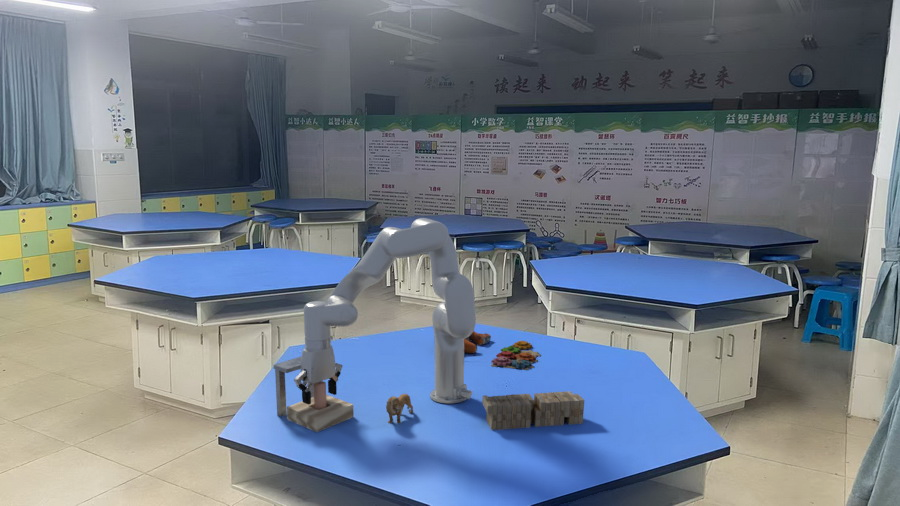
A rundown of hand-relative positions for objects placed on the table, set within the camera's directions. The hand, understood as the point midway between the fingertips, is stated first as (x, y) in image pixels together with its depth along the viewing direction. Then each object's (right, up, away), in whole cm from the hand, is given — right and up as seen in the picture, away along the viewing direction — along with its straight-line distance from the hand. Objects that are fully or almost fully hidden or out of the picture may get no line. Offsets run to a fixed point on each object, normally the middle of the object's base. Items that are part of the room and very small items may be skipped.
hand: (319, 398), depth 194 cm
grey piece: (-7, -5, +7) cm, 11 cm away
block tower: (+64, -7, -2) cm, 64 cm away
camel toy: (+45, +4, +71) cm, 84 cm away
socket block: (0, -6, +1) cm, 6 cm away
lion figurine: (+24, -7, 0) cm, 25 cm away
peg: (0, -6, +1) cm, 6 cm away
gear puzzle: (+66, +2, +60) cm, 89 cm away
